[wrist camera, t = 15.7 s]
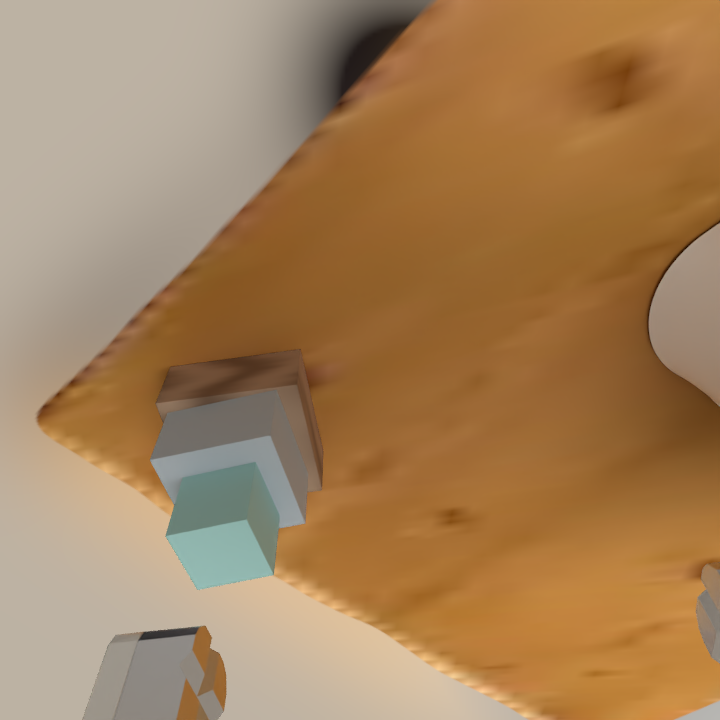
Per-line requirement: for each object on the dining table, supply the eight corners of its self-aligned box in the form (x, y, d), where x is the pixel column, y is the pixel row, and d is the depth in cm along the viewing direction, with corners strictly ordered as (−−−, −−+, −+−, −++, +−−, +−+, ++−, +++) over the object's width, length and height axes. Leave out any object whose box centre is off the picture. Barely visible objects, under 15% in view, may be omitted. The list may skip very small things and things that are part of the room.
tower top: (276, 389, 45) (270, 435, 41) (308, 474, 49) (305, 523, 45) (167, 413, 46) (149, 460, 41) (207, 493, 50) (195, 544, 46)
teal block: (255, 461, 42) (246, 519, 38) (279, 515, 44) (273, 574, 40) (182, 477, 42) (165, 536, 38) (210, 529, 45) (197, 590, 41)
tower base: (300, 346, 49) (297, 384, 45) (323, 448, 54) (322, 490, 50) (171, 364, 49) (155, 403, 45) (206, 463, 55) (195, 506, 51)
